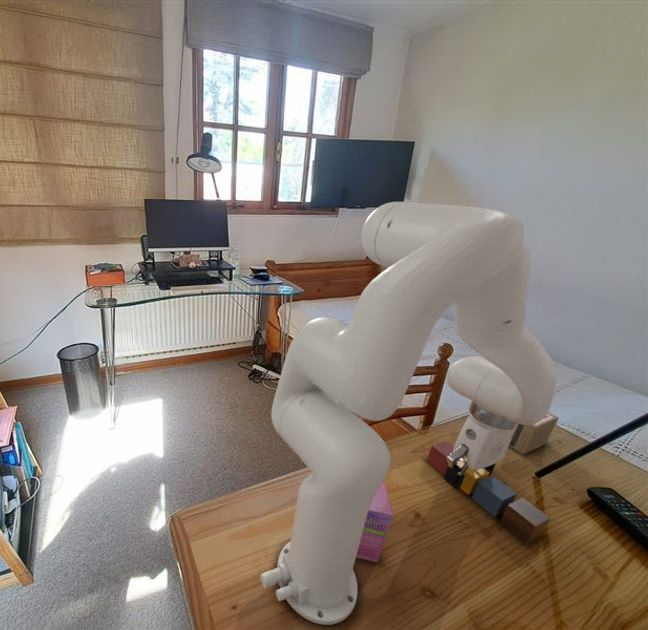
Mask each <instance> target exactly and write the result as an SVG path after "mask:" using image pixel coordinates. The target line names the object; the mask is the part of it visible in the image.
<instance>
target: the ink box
mask: <svg viewBox="0 0 648 630" xmlns="http://www.w3.org/2000/svg"><path fill="white" fill-rule="evenodd" d="M559 418H560V417H559V416H556V415H554V414H552V413H551V412H548V413H547V414H546V415H545V417H544V418H543V419H542V420H540V421H539V422H537V423H535V424H532V425H521V424H516V426H515V428H514V431H513V435H512V438H511V441H510V444H509V446H508V447H510V448H512V449H513V450H515V451H517V452H518V453H519V454H521V455H525V454H527V453H529V452H531V451H533V450H535V449H538V448H540V447H542V446H543V445H546V444H547V442H548V440H549V438H550V436H551V434H552V433H553V431H554V428H555V426H556V425H557V422H558V421H559Z"/></svg>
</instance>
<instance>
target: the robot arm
mask: <svg viewBox="0 0 648 630" xmlns="http://www.w3.org/2000/svg"><path fill="white" fill-rule="evenodd" d="M524 239H525V229H524V226H523V223H522V222H521V221H520V220H519V219H517V217H516V216H514V215H512V214H509V213H507V212H504V211H499V210H494V209H491V208H485V207H478V206H477V207H476V206H468V205H467V206H466V205H455V204H435V203H423V202H410V201H391V202H387V203H384V204H381V205H380V206H378V207H377V208H376V209H374V210H373V211H372V212H371V213H370V214H369V215H368V217H367V218H366V220H365V222H364V224H363V227H362V230H361V245H362V249H363V251H364V253H365V255H366V256H367V258H369V260H371V261H372V262H373V263H374V264H377V265H379V266H383V267H385V268H386V269H384V270H383V271H382V272H381V273H379V274H378V275H377V276H376V277H374V278H373V279H372V280H371V281H370V282H369V284H367V286H366V287H365V288H364V289H363V291H362V293H361V294H360V296H359V298H358V300H357V302H356V305H355V308H354V311H353V313H352V316H351V318H350V321H349V323H348V324H347V323H345V322H343V321H341V320H339V319H336V318H333V317H329V316H322V317H316V318H314V319H311V320H309V321H308V322H306V323H305V324H304V325H303V326H301V328H300V329H299V330H298V331H297V332H296V333H295V335H294V337H293V338H292V340H291V342H290V344H289V347H288V349H287V352H286V355H285V359H284V361H283V366H282V369H281V373H280V376H279V380H278V383H277V387H276V390H275V393H274V398H273V402H272V406H271V417H270V418H271V423H272V426H273V428H274V430H275V431H276V433H277V434H278V435H279V436H280V438H281V439H282V440H283V441H284V442H285V444H287V445H288V446H289V448H290V449H291V450H293V452H294V453H295V454H296V455H297V456H298V458H299V459H300V461H302V463H304V465H305V466H306V467H307V468H308V470H309V471H310V472H311V474H310V475H308V476H307V477H306V478H304V479H303V481H302V482H301V484H300V486H299V488H298V491H297V492H298V493H297V498H296V505H295V510H294V511H295V512H294V518H293V524H292V530H291V538H290V541H288V542H287V543H286V544H284V546H283V547H282V549H281V551H280V553H279V556H278V558H277V564H276V567H275V568H273V569H270V570H267V571H264V572H262V573H260V574H259V578H260V582H261V585H262V587H263V588H264V590H266V589H268V588H271V587H274V586H275V585H277V584H278V586H279V588H278V589H276V590H275V596H276V599H277V600H278V602H281V601H285V600H286V602H287V604H288V605H289V606H290V607H291V608H292V609H293V610H294V611H295V612H296V613H297V614H298V615H300V617H302V618H304V619H305V620H308V621H310V622H312V623H315V624H318V625H322V626H323V625H328V626H330V625H331V626H332V625H335V624H339V623H341V622H342V621H345V619H347V618H348V617H349V616H350V615H351V614H352V612H353V610H354V608H355V606H356V602H357V599H358V594H359V593H358V591H359V590H358V587H359V586H358V581H357V576H356V574H355V570H354V566H355V563H356V559H357V558H356V555H357V551H358V547H359V544H360V540H361V536H362V533H363V529H364V524H365V521H366V517H367V514H368V511H369V508H370V505H371V503H372V501H373V498H374V496H375V495H376V493H377V491H378V489H379V488H380V486H381V484H382V483H383V481H384V482H385V480H386V477H387V475H388V473H389V472H390V471H389V470H390V467H391V464H392V463H391V461H392V457H391V453H390V449H389V448H388V445H387V444H386V443H385V441H384V440H383V438H382V436H380V435H379V434H378V432H376V431H375V430H374V428H372V427H371V426H369V424H368V423H366V422H365V421H364V420H363V419H365V420H368V421H373V422H374V421H375V422H379V421H383V420H387V419H388V418H390V417H391V416H392V415H394V413H395V412H396V411H397V409H398V408H399V407H400V404H401V403H402V402H403V399H404V397H405V395H406V394H407V390H408V388H409V386H410V384H411V382H412V378H413V376H414V374H415V371H416V369H417V367H418V364H419V362H420V360H421V357H422V355H423V353H424V350H425V347H426V344H427V342H428V340H429V337H430V336H431V334H432V331H433V330H434V328H435V326H436V324H437V322H438V321H439V319H441V317H442V316H443V315H444V313H445V312H446V311H448V309H450V307H452V306H453V307H452V308H453V324H454V330H455V332H456V334H457V336H458V337H459V338H460V339H461V340H462V341H463V342H464V343H465V344H466V345H468V347H470V348H471V349H472V350H474V351H475V352H476V354H479V355H474V356H466V357H463V358H460V359H458V360H457V361H455V362H453V363H452V364H451V365H450V366H449V368H448V369H447V372H446V382H447V385H448V386H449V387H450V389H451V390H453V391H454V392H455V393H457V394H459V395H461V396H462V397H464V398H466V399H468V400H470V401H471V403H470V406H469V407H468V411H467V412H468V417H467V419H466V421H465V422H464V423H463V426H462V428H461V430H460V432H459V434H458V437H457V439H456V441H455V444H454V446H453V447H454V450H453V452H452V453H451V454H450V455H449V456H448V457H447V466H448V468H447V470H446V473H445V475H443V479H444V481H445V482H447V484H449V485H450V486H451V487H452V488H454V489H455V490H456V491H458V490H461V488H460V487H461V485H462V482H463V480H464V477H465V475H464V473H465V471H466V470H467V469H468V468H469V467H470V468H471V469H472V470H480V469H482V468H484V469H485V470H486V471H488V472H489V475H488V478H489V477H492V473H493V472H494V469H495V466H496V465H497V463H499V462H501V461H503V460H504V459H505V456H506V455H507V452H508V449H509V447H510V446H509V444H510V441H511V438H512V435H513V432H514V430H515V428H516V426H517V424H521V425H532V424H535V423H537V422H539V421H540V420H542V419H543V418H544V417H545V415H546V414H547V413H549V411H550V409H551V406H552V404H553V400H554V397H555V390H556V386H557V379H558V374H557V368H556V365H555V363H554V361H553V360H552V357H551V356H550V355H549V353H548V351H546V348H544V346H543V345H542V344H541V342H540V341H539V340H538V339H537V337H536V335H534V334H533V333H532V332H531V330H529V329H528V328H527V327H526V326H525V319H526V309H527V308H526V307H527V298H528V290H529V281H530V271H531V270H530V269H531V253H530V250H529V248H528V245H526V244H525V243H524ZM360 417H361V418H360ZM362 418H363V419H362ZM463 456H464V457H465V458H467V461H466V460H464V459H465V458H464V457H463ZM462 457H463V458H462ZM458 460H461V461H462V462H463V463H465V464H464V465H463V466H462V467H461V469H460V467H459V466H458V465H457V461H458Z"/></svg>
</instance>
